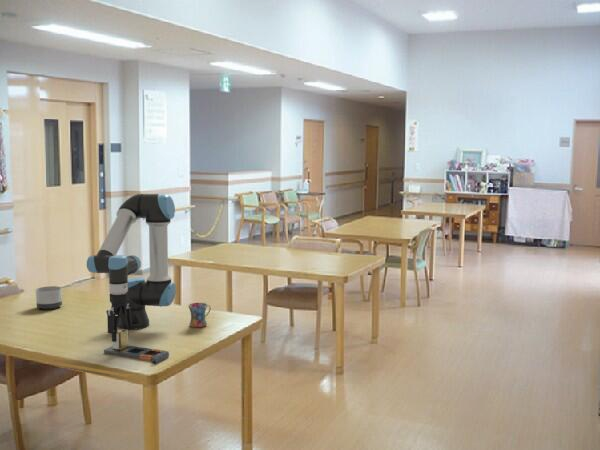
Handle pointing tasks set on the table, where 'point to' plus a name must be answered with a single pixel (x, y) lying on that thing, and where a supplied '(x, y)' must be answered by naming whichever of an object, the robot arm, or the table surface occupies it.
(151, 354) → the rail
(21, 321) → the table surface
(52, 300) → the planter
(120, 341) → the tan rectangular block
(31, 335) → the table surface
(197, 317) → the mug
